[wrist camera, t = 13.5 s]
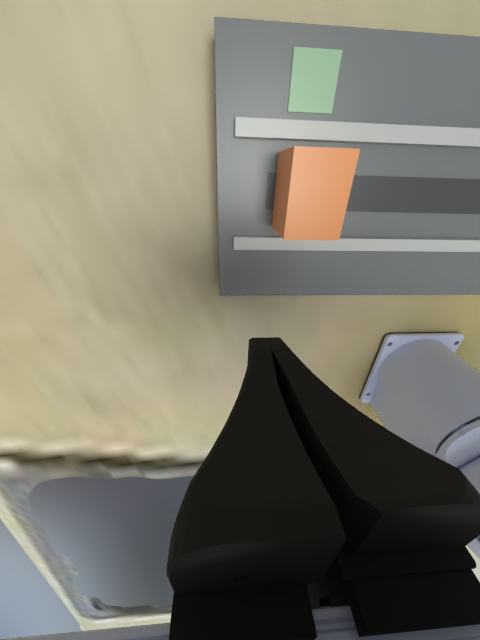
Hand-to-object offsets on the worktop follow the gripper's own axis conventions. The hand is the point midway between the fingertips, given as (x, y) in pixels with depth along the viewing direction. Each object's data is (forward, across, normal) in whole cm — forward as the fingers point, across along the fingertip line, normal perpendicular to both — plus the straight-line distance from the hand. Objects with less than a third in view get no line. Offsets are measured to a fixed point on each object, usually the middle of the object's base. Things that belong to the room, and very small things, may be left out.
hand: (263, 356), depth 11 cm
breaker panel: (+10, -9, -6) cm, 15 cm away
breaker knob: (+8, -3, -6) cm, 10 cm away
